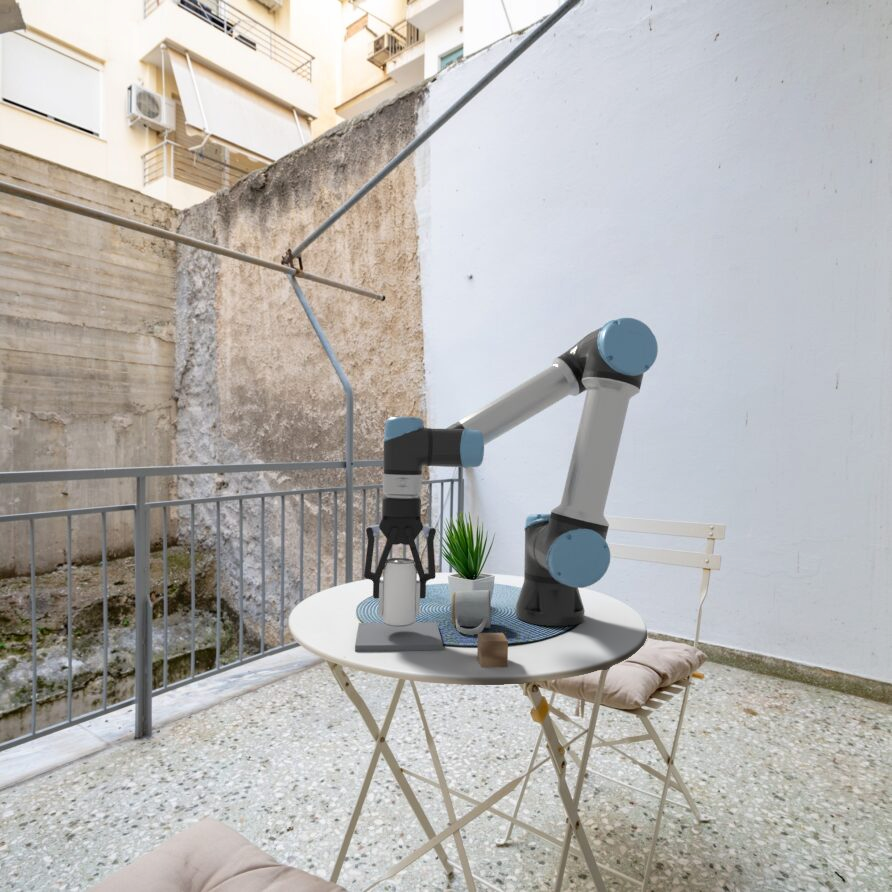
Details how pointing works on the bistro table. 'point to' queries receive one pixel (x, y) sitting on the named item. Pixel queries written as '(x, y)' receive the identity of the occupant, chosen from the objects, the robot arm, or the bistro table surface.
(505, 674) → the bistro table surface
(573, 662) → the bistro table surface
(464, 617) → the ceramic mug
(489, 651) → the walnut block
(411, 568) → the can
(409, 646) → the mat
